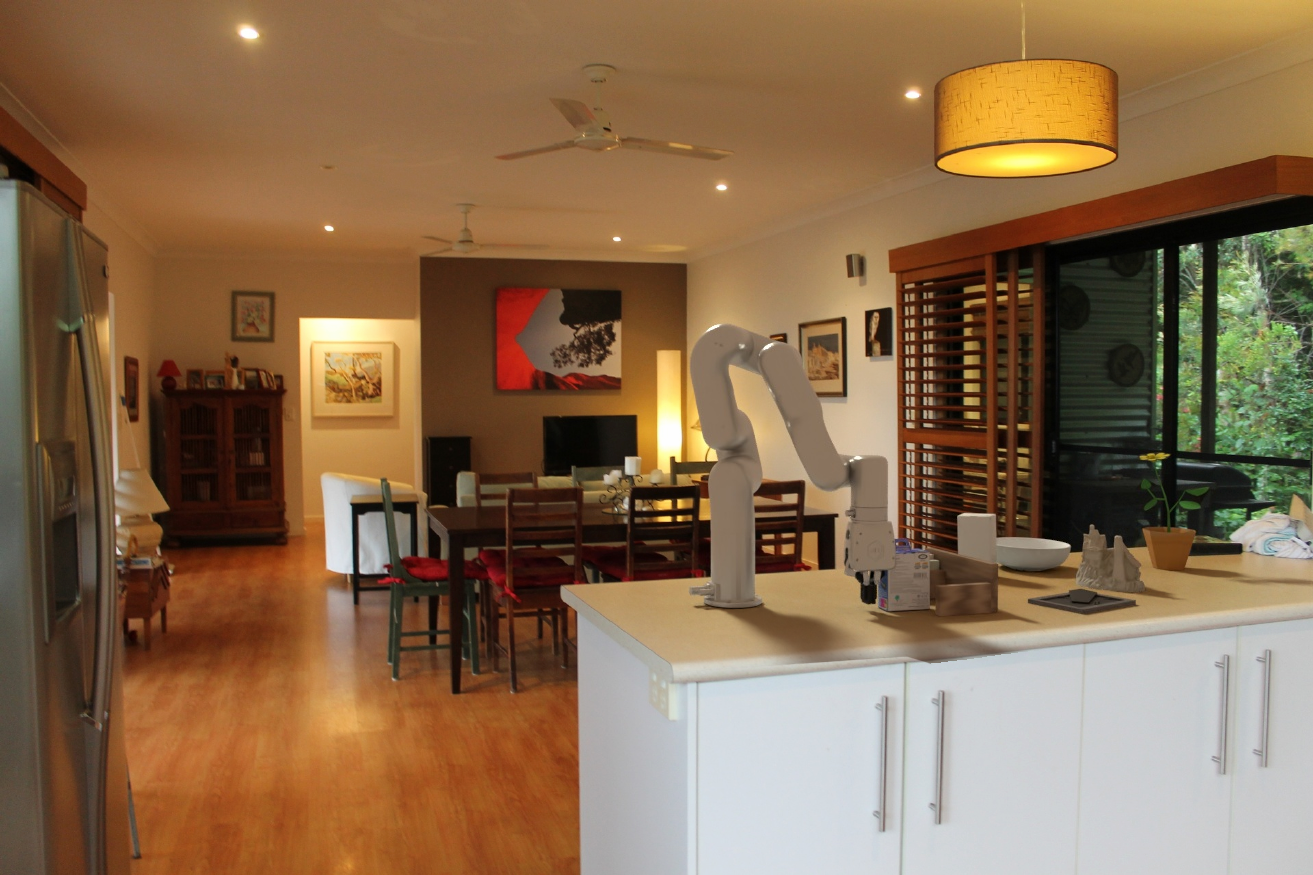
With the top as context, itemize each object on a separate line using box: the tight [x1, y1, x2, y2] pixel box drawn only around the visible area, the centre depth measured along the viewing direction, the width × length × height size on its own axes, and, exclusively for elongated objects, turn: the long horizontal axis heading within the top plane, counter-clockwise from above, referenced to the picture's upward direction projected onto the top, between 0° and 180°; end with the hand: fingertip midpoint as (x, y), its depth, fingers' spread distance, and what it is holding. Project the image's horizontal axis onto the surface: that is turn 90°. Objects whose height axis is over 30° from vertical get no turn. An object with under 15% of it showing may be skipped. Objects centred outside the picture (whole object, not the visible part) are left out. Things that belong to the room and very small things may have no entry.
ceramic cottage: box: [1075, 524, 1146, 593], centre depth 234 cm, size 16×16×15 cm
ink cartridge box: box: [877, 538, 931, 612], centre depth 207 cm, size 10×6×14 cm, turn 104°
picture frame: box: [1027, 588, 1137, 615], centre depth 211 cm, size 13×2×18 cm
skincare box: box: [956, 512, 998, 564], centre depth 245 cm, size 8×7×16 cm
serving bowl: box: [996, 536, 1072, 572], centre depth 258 cm, size 21×21×7 cm
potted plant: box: [1134, 451, 1211, 571], centre depth 257 cm, size 18×19×30 cm
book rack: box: [925, 547, 999, 617], centre depth 213 cm, size 14×24×10 cm, turn 17°
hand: (868, 603), depth 205 cm, fingers closed
